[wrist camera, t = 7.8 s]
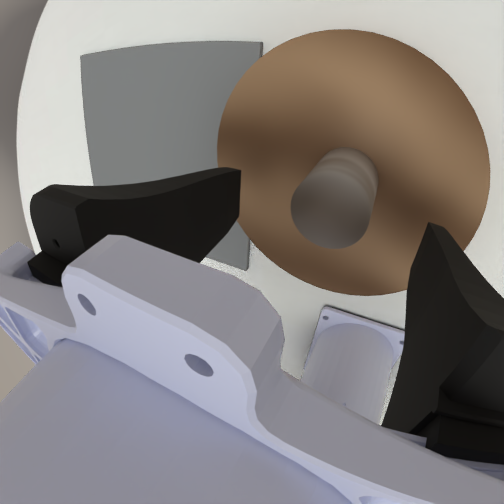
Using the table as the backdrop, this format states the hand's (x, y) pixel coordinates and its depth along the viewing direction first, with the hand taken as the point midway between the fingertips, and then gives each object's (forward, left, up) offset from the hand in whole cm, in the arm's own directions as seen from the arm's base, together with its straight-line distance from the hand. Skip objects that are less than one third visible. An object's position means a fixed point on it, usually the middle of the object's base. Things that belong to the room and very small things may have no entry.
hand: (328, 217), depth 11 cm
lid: (0, 0, -5) cm, 5 cm away
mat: (-3, +16, -10) cm, 19 cm away
